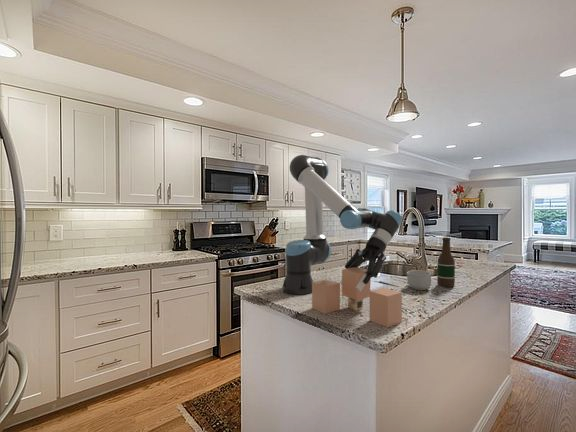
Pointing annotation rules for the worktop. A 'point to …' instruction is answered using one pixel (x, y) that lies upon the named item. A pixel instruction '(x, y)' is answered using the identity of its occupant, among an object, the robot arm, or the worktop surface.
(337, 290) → the peach colored cube
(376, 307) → the tan peach cube
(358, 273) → the smooth terracotta cube
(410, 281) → the teacup
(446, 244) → the beer bottle
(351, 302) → the beige cube
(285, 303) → the worktop surface
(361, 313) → the worktop surface
